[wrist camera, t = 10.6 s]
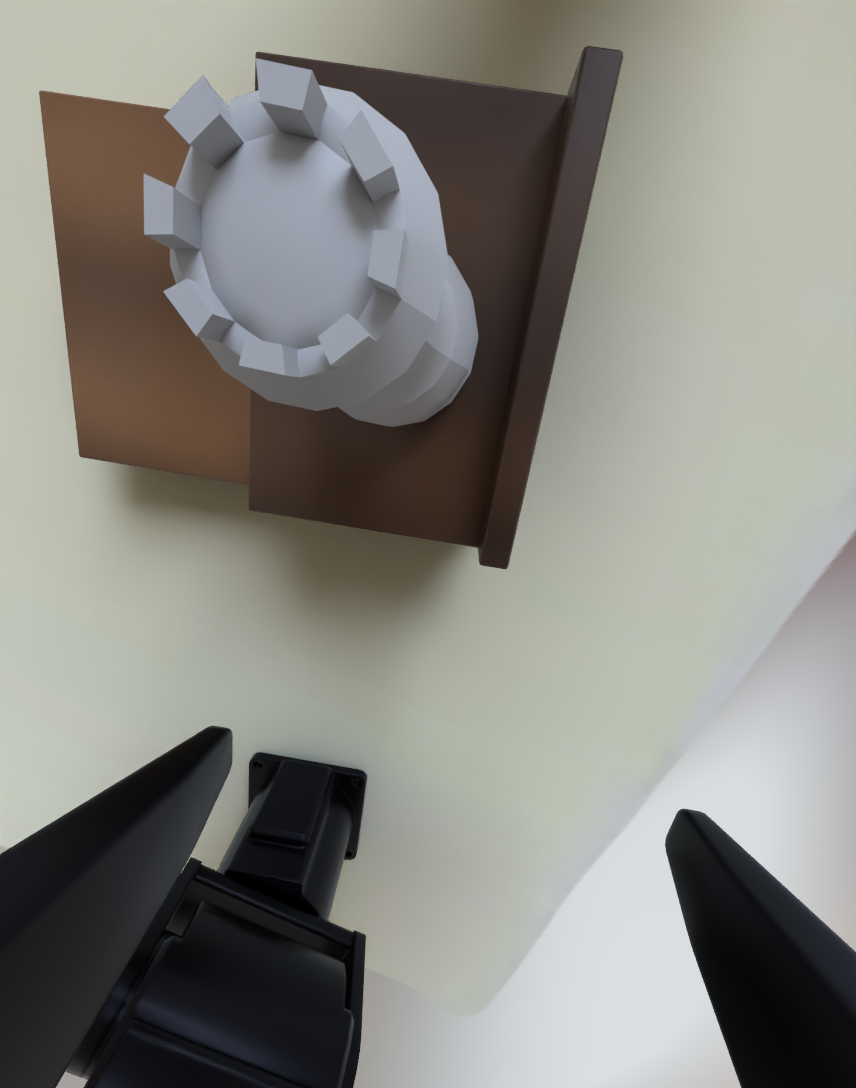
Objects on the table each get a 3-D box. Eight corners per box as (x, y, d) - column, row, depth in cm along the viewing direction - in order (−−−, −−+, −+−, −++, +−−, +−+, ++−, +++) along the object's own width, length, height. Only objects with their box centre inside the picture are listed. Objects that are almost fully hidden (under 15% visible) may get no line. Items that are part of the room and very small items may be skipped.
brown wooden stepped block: (490, 506, 19) (507, 570, 12) (134, 448, 19) (-55, 477, 12) (550, 209, 15) (625, 48, 8) (113, 144, 16) (-170, -63, 9)
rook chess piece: (506, 287, 11) (605, 49, 4) (437, 451, 13) (403, 530, 5) (343, 211, 11) (73, -222, 3) (291, 387, 12) (20, 369, 5)
